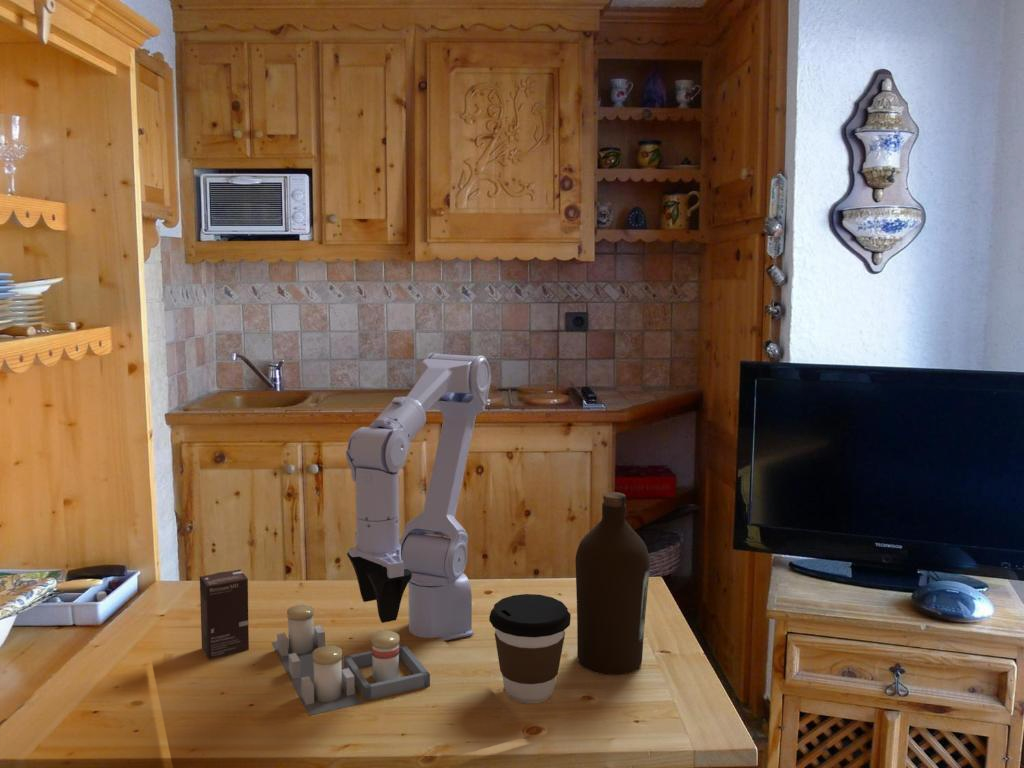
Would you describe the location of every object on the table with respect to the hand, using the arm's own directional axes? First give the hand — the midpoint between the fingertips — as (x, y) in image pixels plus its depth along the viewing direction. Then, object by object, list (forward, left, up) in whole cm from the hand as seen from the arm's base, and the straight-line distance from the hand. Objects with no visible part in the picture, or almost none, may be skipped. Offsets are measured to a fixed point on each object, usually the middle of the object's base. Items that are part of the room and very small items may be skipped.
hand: (379, 610), depth 119 cm
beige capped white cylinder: (+8, -12, -9) cm, 17 cm away
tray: (0, +2, -10) cm, 10 cm away
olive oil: (-32, +10, -10) cm, 35 cm away
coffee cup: (-17, +13, -10) cm, 23 cm away
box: (+18, -16, -10) cm, 26 cm away
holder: (+8, -4, -10) cm, 13 cm away
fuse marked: (0, +2, -9) cm, 9 cm away
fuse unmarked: (+8, +3, -9) cm, 13 cm away
